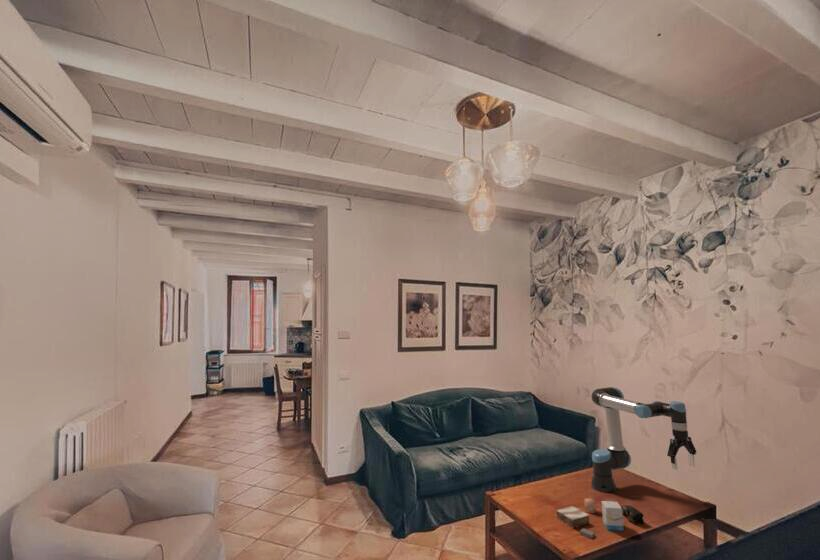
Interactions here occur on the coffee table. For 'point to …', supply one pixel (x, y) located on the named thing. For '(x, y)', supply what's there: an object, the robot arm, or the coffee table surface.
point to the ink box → (612, 515)
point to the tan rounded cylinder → (590, 505)
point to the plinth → (573, 516)
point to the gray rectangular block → (587, 533)
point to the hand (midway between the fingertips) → (683, 467)
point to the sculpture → (632, 514)
